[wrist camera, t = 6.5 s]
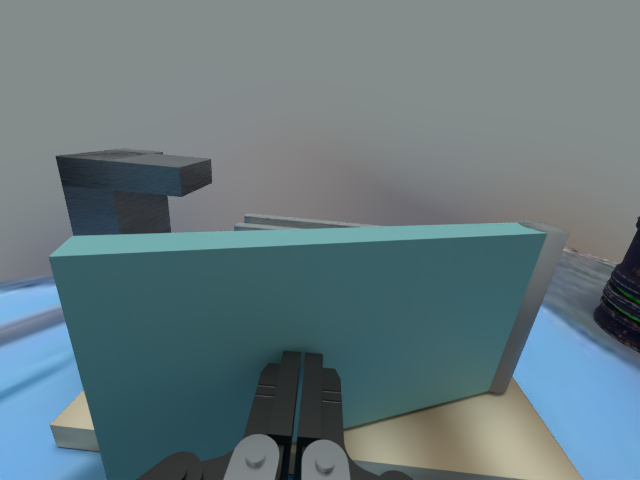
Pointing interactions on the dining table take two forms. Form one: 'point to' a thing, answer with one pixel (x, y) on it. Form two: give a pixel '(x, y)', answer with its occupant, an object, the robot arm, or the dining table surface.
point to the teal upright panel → (291, 323)
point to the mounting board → (421, 440)
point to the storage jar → (623, 298)
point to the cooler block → (145, 193)
